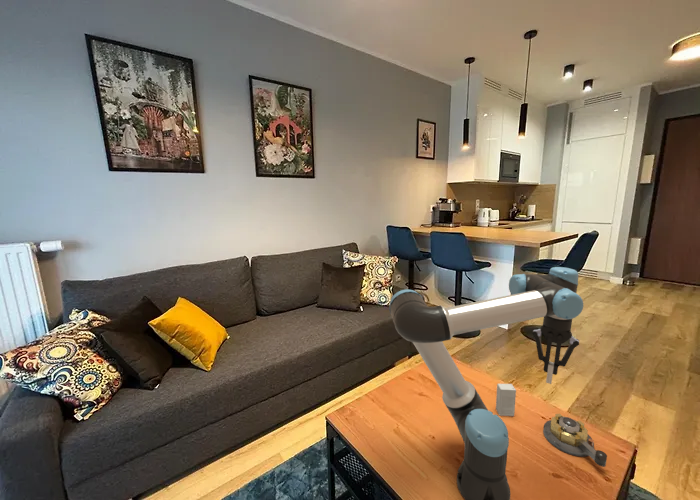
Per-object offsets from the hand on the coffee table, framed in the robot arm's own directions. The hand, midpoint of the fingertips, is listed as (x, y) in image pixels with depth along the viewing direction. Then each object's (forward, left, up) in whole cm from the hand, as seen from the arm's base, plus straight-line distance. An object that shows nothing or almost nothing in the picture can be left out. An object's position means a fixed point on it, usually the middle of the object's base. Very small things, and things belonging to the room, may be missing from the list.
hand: (548, 381), depth 101 cm
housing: (+13, -3, -27) cm, 31 cm away
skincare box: (+9, +18, -28) cm, 34 cm away
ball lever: (+11, -7, -25) cm, 28 cm away
